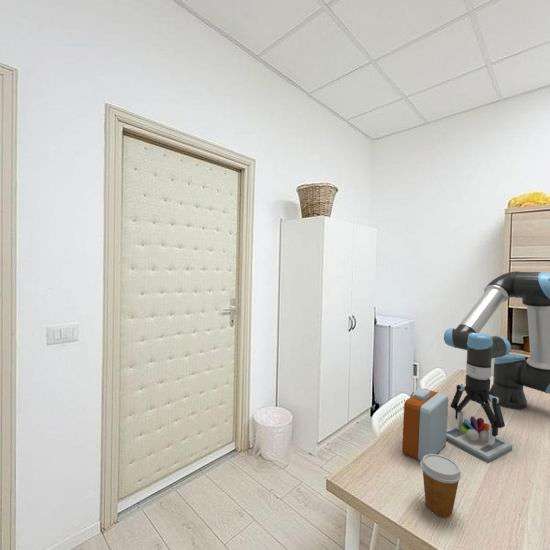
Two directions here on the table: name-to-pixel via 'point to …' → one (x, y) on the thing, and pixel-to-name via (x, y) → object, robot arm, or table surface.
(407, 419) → the rectangular block
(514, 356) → the robot arm
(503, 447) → the square gray tray
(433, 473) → the disposable coffee cup
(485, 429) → the rainbow disc rolling toy
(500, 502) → the table surface
